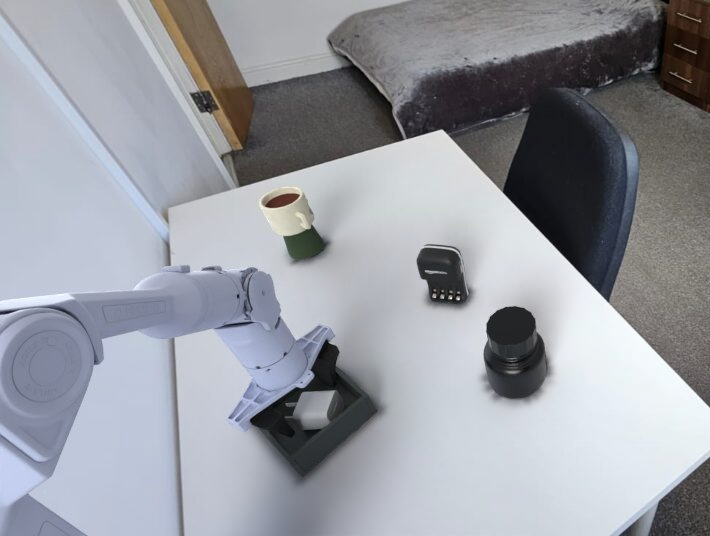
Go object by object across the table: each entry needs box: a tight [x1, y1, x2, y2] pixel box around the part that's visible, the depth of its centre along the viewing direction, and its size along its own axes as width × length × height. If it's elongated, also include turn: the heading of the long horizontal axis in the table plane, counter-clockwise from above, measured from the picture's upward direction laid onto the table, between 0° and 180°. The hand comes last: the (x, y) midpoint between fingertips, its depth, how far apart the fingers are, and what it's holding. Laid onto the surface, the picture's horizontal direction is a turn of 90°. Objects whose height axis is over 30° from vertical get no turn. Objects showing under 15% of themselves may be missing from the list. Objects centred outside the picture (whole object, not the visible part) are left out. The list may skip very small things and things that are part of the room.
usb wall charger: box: [285, 390, 344, 430], centre depth 64 cm, size 4×7×4 cm, turn 94°
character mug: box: [258, 185, 326, 260], centre depth 87 cm, size 11×7×13 cm, turn 59°
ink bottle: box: [482, 305, 548, 400], centre depth 68 cm, size 10×9×12 cm
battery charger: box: [415, 243, 470, 305], centre depth 79 cm, size 7×4×11 cm, turn 84°
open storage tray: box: [257, 365, 378, 478], centre depth 65 cm, size 11×12×4 cm
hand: (309, 407), depth 64 cm, fingers open, 7 cm apart
